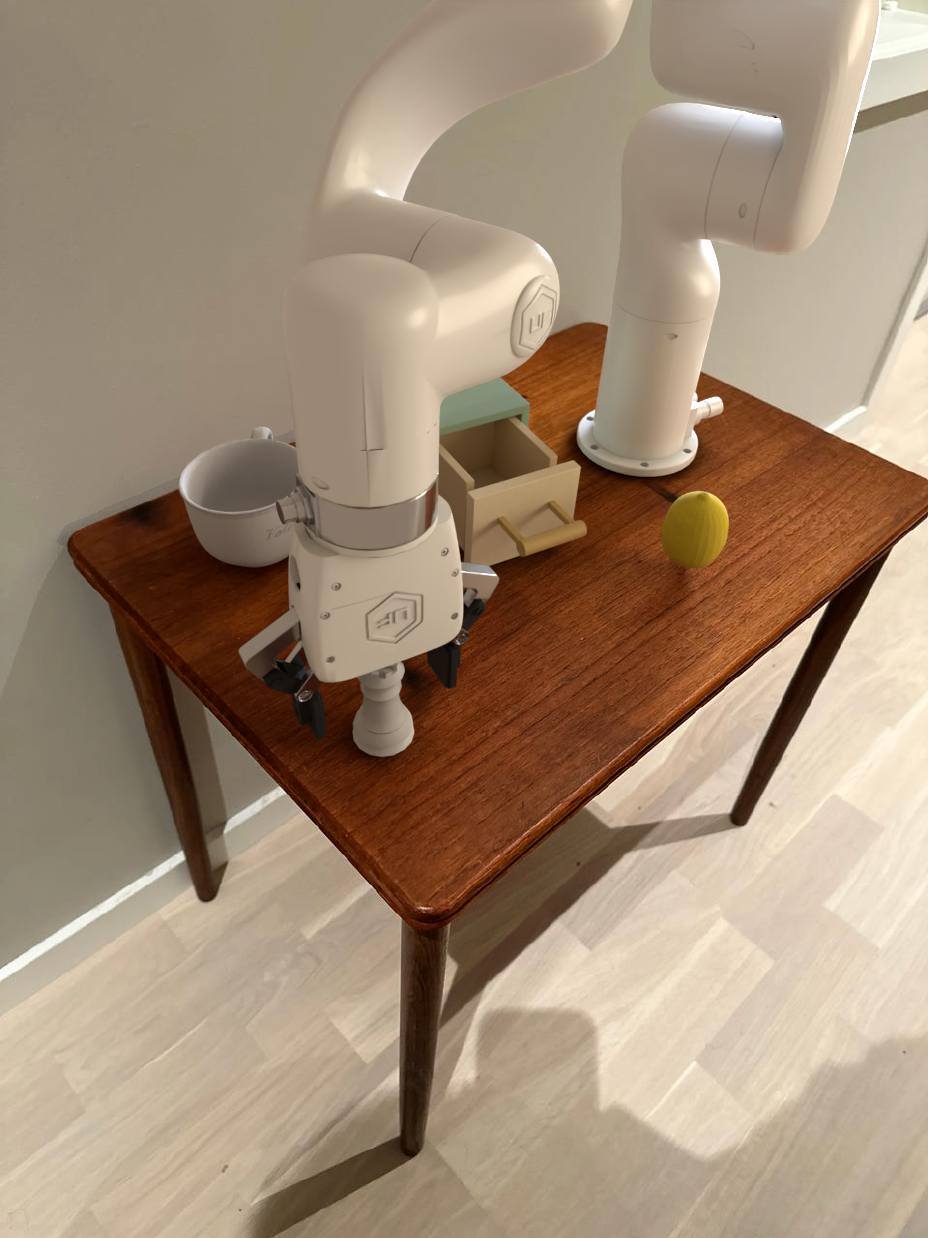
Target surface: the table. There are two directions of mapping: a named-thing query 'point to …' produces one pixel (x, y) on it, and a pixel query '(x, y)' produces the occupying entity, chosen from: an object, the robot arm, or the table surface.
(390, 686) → the rook chess piece
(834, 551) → the table surface
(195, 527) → the teacup
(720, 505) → the lemon
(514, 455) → the drawer
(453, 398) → the cabinet
